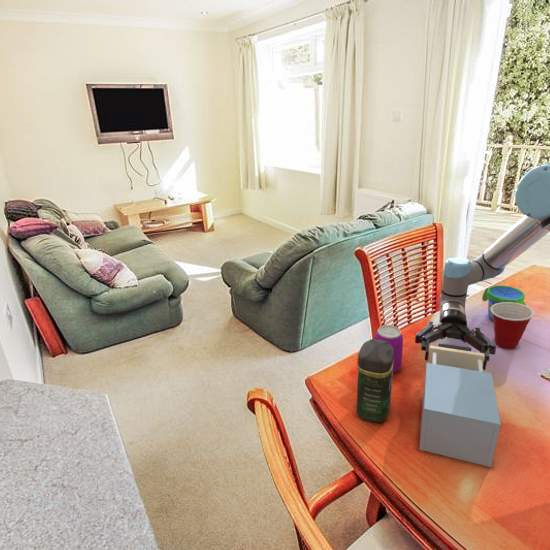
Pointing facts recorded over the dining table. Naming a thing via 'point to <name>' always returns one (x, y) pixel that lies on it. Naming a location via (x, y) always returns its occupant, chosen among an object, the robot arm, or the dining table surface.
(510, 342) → the plastic cup
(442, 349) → the drawer
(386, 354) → the coffee jar
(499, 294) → the snack cup
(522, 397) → the dining table surface
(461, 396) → the cabinet
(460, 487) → the dining table surface
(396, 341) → the beverage can
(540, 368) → the dining table surface
